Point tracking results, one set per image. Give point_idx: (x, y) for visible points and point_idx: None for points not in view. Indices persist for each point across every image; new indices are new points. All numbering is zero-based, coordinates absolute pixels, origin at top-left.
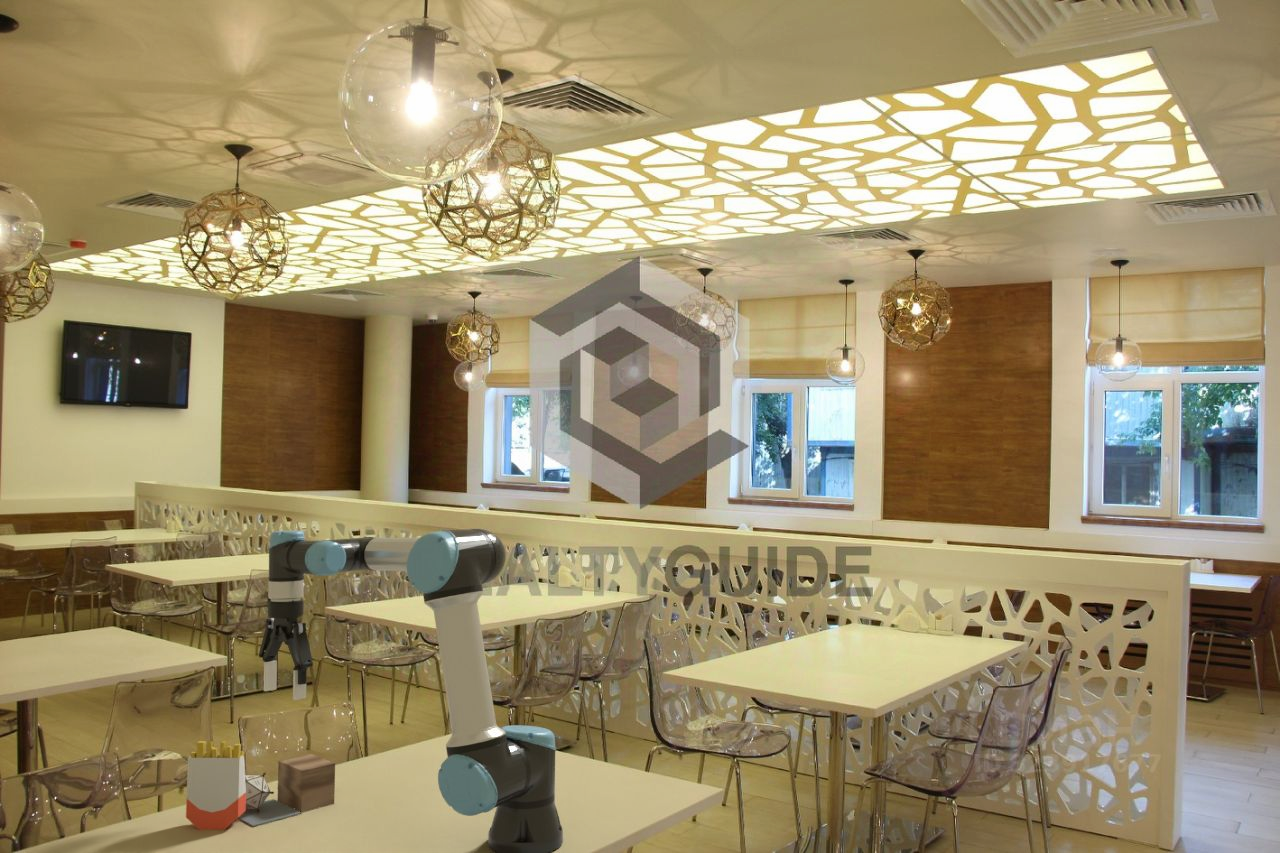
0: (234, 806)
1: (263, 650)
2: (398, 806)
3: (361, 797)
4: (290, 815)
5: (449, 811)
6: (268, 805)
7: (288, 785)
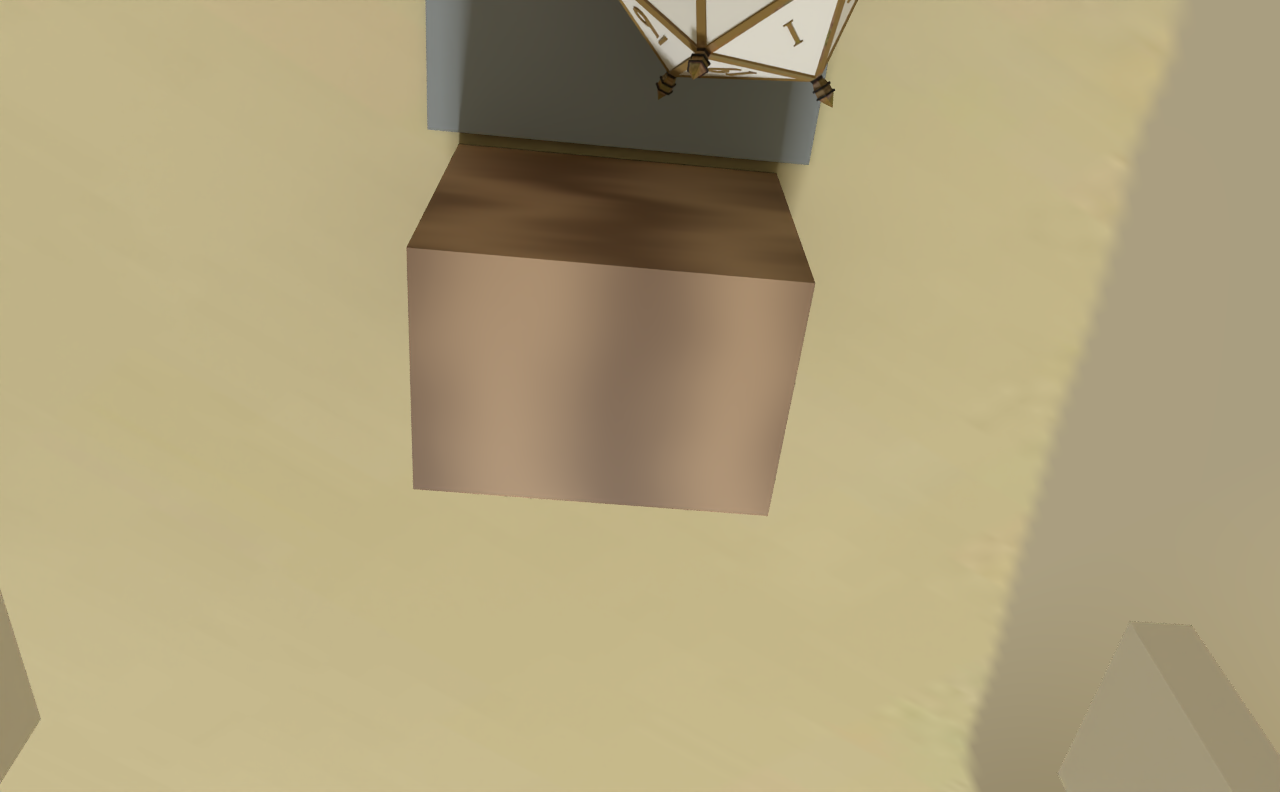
0: None
1: None
2: (173, 509)
3: None
4: (428, 50)
5: None
6: None
7: (634, 206)
